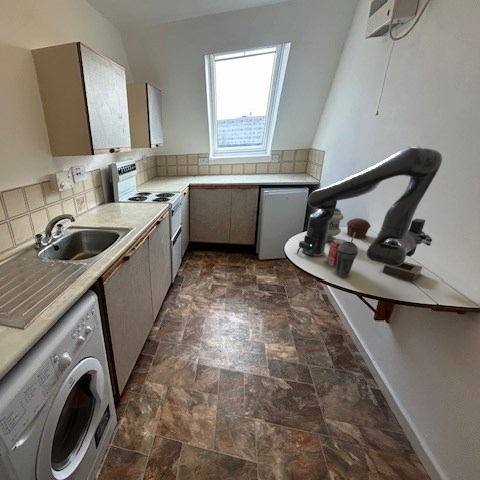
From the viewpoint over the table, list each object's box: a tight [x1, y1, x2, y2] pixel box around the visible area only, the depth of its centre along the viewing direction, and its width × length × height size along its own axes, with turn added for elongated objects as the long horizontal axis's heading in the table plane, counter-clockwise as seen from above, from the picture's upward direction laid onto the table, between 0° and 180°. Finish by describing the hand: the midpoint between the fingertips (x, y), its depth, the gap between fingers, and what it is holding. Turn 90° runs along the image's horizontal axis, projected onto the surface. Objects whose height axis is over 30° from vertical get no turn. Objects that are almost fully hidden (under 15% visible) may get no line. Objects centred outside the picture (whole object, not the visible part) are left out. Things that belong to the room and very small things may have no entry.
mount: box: [382, 261, 423, 282], centre depth 116 cm, size 10×10×4 cm
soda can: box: [326, 238, 348, 268], centre depth 124 cm, size 7×7×12 cm
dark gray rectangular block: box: [406, 218, 426, 257], centre depth 110 cm, size 3×5×15 cm, turn 125°
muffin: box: [346, 217, 372, 239], centre depth 156 cm, size 12×11×10 cm
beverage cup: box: [335, 232, 359, 278], centre depth 113 cm, size 7×7×20 cm
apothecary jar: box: [326, 207, 344, 243], centre depth 152 cm, size 12×12×18 cm
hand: (416, 232), depth 111 cm, fingers closed on dark gray rectangular block, 3 cm apart
